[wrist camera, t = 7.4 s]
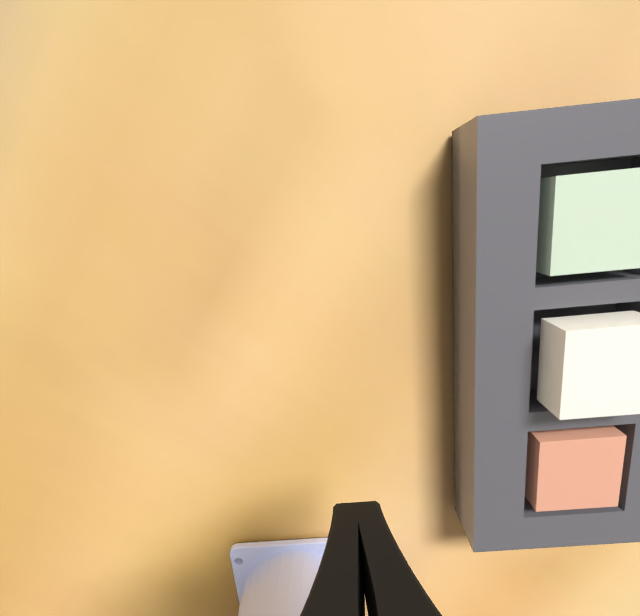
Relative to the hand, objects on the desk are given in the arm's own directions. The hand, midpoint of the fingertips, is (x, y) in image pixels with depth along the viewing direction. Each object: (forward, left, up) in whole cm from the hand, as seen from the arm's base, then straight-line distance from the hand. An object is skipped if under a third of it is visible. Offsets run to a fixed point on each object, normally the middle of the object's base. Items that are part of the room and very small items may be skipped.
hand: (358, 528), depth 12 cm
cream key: (+2, -11, -7) cm, 13 cm away
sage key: (+8, -11, -8) cm, 16 cm away
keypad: (+2, -11, -9) cm, 15 cm away
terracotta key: (-4, -11, -8) cm, 14 cm away
